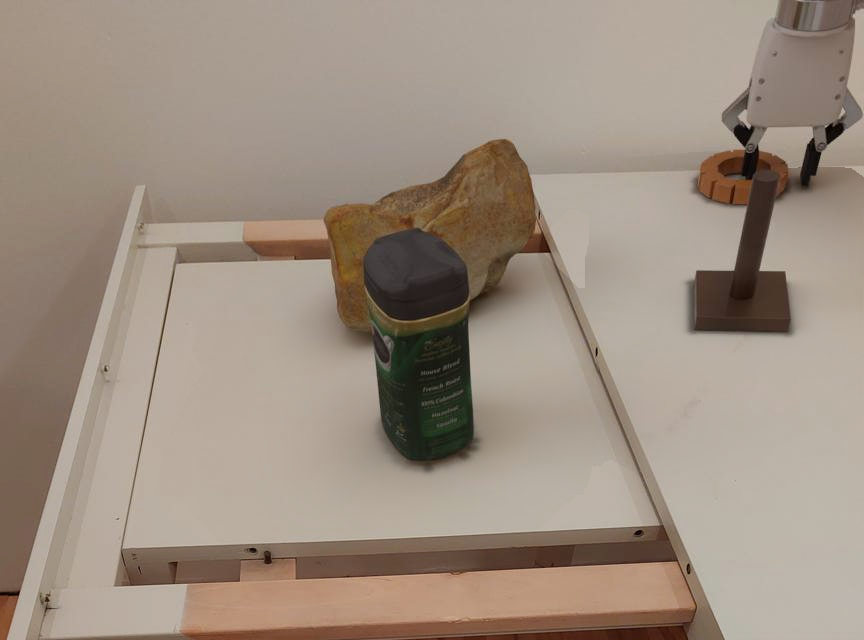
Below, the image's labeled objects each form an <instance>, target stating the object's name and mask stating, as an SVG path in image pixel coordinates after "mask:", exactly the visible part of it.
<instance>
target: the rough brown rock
mask: <svg viewBox="0 0 864 640" xmlns="http://www.w3.org/2000/svg"><path fill="white" fill-rule="evenodd" d="M536 208H537V207H536V202H535V193H534V189H533V182H532V178H531V174H530V171H529V167H528V165H527V163H526V162H525V161H524V160H523V158H522V157H521V156H520V154H519V152H518V149H517V147H516V146H515V144H514V143H513V141H510V140H509V139H507V138H499V139H492V140H489V141H487V142H485V143H483V144H482V145H480V146H478V147H476V148H474V149H471V150H470V151H467V152H466V153H464V154H462V156H461V157H460V158H459V159H458V161H457V162H455V164H454V165H453V166H452V167H451V168H450V169H449V170H448V172H447V173H446V174H445V175H444V176H442V177H441V178H439V179H437V180H434V181H432V182H428V183H423V184H417V185H409V186H407V187H405V188H401V189H399V190H395V191H392V192H390V193H388V194H387V195H385V196H382V197H381V198H380V199H379V200H378V201H376V202H374V203H372V204H368V203H360V202H359V203H345V204H342V205H333V206H331V207H330V208H328V209H327V211H326V212H325V214H324V216H323V224H324V226H325V228H326V233H327V239H328V244H329V256H330V258H329V259H330V267H331V276H332V279H333V283H334V291H335V292H334V293H335V294H334V295H335V298H336V310H337V313H338V317H339V319H340V320H341V322H342V324H343V325H344V326H345V327H346V328H348V329H349V330H357V331H362V332H366V333H369V334H371V335H372V327H371V320H370V313H369V308H368V303H367V297H366V292H365V285H364V267H363V262H364V257H365V254H366V252H367V250H368V249H369V248H370V246H371V245H372V244H373V243H374V241H375V240H376V238H379V237H382V236H385V235H388V234H392V233H396V232H399V231H403V230H408V229H412V228H420V229H421V230H422V231H425V232H428V233H430V234H433V235H435V236H437V237H439V238H441V239H442V240H444V241H445V242H446V243H447V244H448V245H449V246H450V247H451V248H452V249H453V250H454V251H455V252H456V253H457V254H458V255H459V256H460V257H461V259H462V260H463V261H464V263H465V264H466V267H467V273H468V282H469V293H470V301H472V300H474V299H475V298H476V297H478V296H479V295H480V294H481V293H485V292H487V291H490V290H491V289H494V288H495V287H496V286H497V285H498V284H499V283H500V282H501V281H502V278H503V276H504V274H505V272H506V270H507V266H508V264H509V262H510V261H511V259H512V258H513V257H514V256H515V255H517V254H519V253H521V251H522V250H523V248H524V247H525V246H526V244H527V243H528V241H529V240H530V239H532V238H533V237H534V233H535V231H536V224H537V217H536Z"/></svg>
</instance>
